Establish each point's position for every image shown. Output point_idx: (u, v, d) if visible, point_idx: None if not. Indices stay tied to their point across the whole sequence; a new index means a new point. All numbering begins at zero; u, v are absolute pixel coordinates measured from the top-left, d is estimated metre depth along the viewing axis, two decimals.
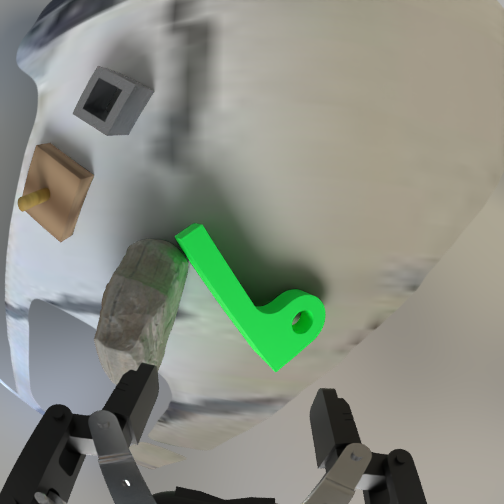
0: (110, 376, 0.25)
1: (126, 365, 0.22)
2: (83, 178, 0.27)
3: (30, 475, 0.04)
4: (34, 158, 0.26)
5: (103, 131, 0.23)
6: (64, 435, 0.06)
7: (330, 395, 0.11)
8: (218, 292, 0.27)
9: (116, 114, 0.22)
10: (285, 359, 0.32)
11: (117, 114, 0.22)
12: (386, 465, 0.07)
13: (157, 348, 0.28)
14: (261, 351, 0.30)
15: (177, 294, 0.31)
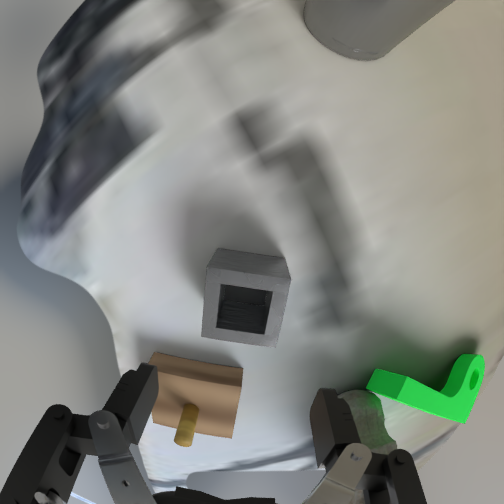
0: None
1: None
2: (240, 382, 0.25)
3: (30, 475, 0.04)
4: None
5: (267, 344, 0.21)
6: (64, 435, 0.06)
7: (330, 395, 0.11)
8: (427, 409, 0.21)
9: (278, 321, 0.20)
10: (469, 411, 0.23)
11: (281, 321, 0.20)
12: (386, 465, 0.07)
13: None
14: (456, 419, 0.22)
15: None
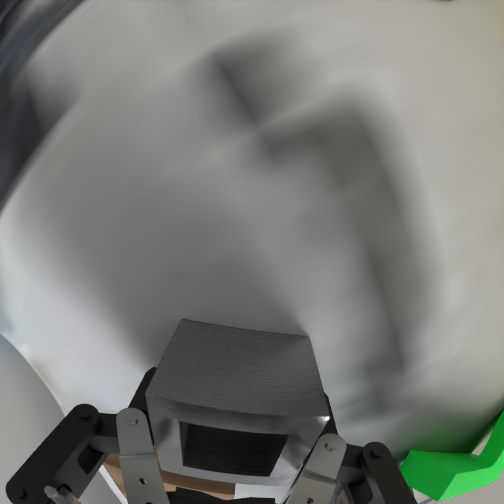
0: None
1: None
2: (233, 487, 0.14)
3: (44, 469, 0.04)
4: (112, 472, 0.13)
5: (274, 484, 0.09)
6: (88, 435, 0.06)
7: None
8: (466, 491, 0.09)
9: (296, 464, 0.08)
10: (503, 467, 0.11)
11: (301, 464, 0.08)
12: (362, 459, 0.07)
13: None
14: (490, 482, 0.10)
15: None
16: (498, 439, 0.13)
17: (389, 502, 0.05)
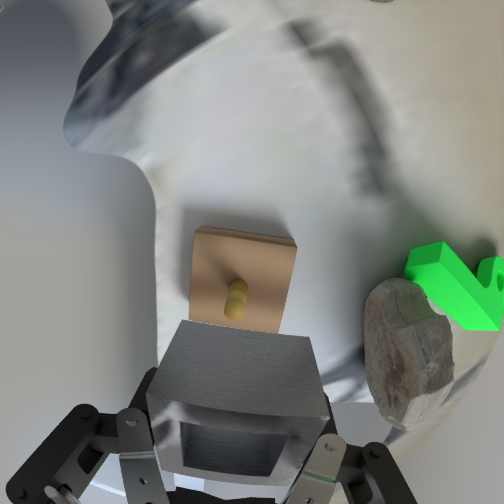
0: (413, 424, 0.20)
1: (443, 396, 0.18)
2: (295, 246, 0.27)
3: (44, 469, 0.04)
4: (197, 250, 0.27)
5: (274, 484, 0.09)
6: (88, 435, 0.06)
7: None
8: (467, 290, 0.23)
9: (296, 464, 0.08)
10: (501, 316, 0.25)
11: (300, 464, 0.08)
12: (362, 459, 0.07)
13: None
14: (492, 319, 0.24)
15: None
16: (484, 275, 0.26)
17: (389, 502, 0.05)
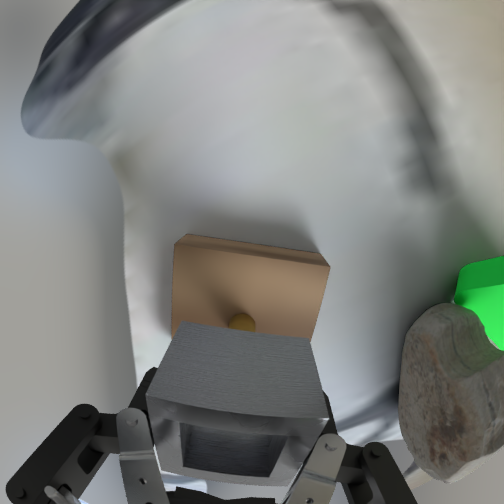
0: (459, 478, 0.11)
1: None
2: (326, 263, 0.18)
3: (44, 469, 0.04)
4: (180, 271, 0.17)
5: (274, 484, 0.09)
6: (88, 435, 0.06)
7: None
8: None
9: (295, 465, 0.08)
10: None
11: (300, 465, 0.08)
12: (362, 459, 0.07)
13: None
14: None
15: None
16: None
17: (389, 502, 0.05)
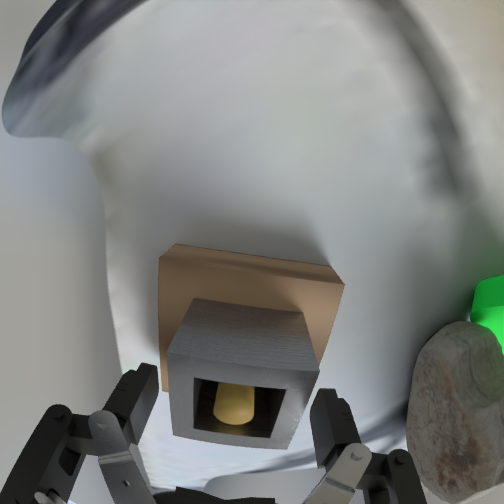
0: (467, 502, 0.08)
1: None
2: (339, 280, 0.15)
3: (30, 475, 0.04)
4: (166, 290, 0.14)
5: (274, 447, 0.11)
6: (64, 435, 0.06)
7: (330, 395, 0.11)
8: None
9: (293, 423, 0.11)
10: None
11: (297, 423, 0.11)
12: (386, 465, 0.07)
13: None
14: None
15: None
16: None
17: None
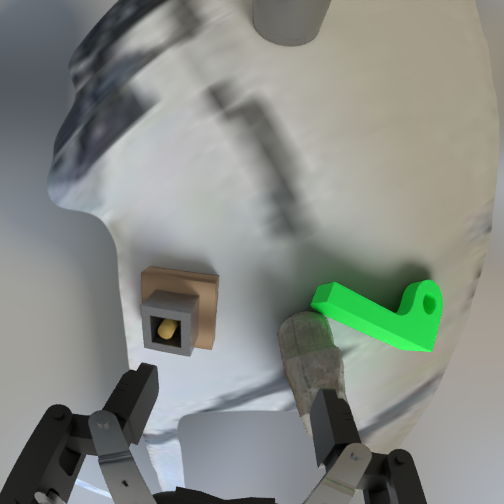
0: None
1: None
2: (215, 282, 0.34)
3: (30, 475, 0.04)
4: (144, 286, 0.34)
5: (184, 354, 0.30)
6: (64, 435, 0.06)
7: (330, 395, 0.11)
8: (370, 321, 0.30)
9: (188, 340, 0.30)
10: (433, 337, 0.31)
11: (189, 339, 0.30)
12: (386, 465, 0.07)
13: None
14: (416, 343, 0.30)
15: None
16: (407, 301, 0.33)
17: None
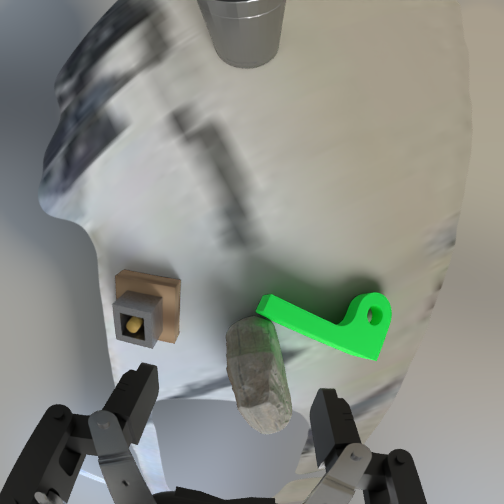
0: (260, 429, 0.32)
1: (269, 412, 0.30)
2: (175, 286, 0.38)
3: (30, 475, 0.04)
4: (118, 287, 0.38)
5: (148, 346, 0.35)
6: (64, 435, 0.06)
7: (330, 395, 0.11)
8: (307, 330, 0.35)
9: (150, 334, 0.35)
10: (378, 347, 0.36)
11: (151, 334, 0.34)
12: (386, 465, 0.07)
13: (284, 391, 0.35)
14: (358, 352, 0.36)
15: (277, 347, 0.38)
16: (351, 312, 0.38)
17: None
